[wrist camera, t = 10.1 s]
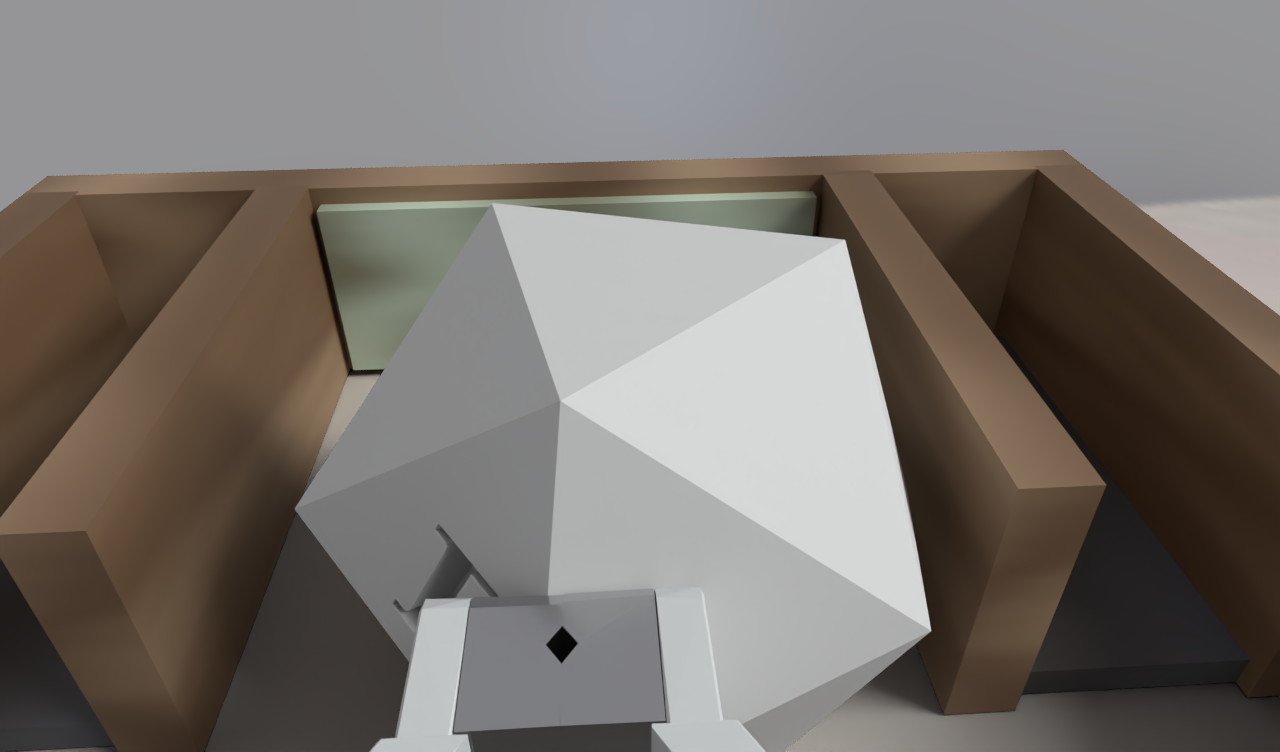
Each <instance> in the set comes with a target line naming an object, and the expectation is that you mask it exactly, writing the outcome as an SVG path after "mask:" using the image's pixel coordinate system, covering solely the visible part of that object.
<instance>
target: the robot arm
mask: <svg viewBox="0 0 1280 752" xmlns="http://www.w3.org/2000/svg"><path fill="white" fill-rule="evenodd" d="M369 752H766V751H765V750H764V749H763V748H762V747H761V746H760V744H759V743H758V742H757V741H756V740H755V739H754V738H753V737H752V735H751V734H750V733H749V732H748V731H747V730H746V729H745V728H744V727H743V725H742V724H741V723H740V722H739V721H738V720H723V716H722V709H721V703H720V696H719V690H718V683H717V677H716V670H715V664H714V657H713V651H712V644H711V638H710V631H709V625H708V618H707V612H706V606H705V599H704V594H703V592H702V591H701V589H700V587H686V588H665V589H655V590H654V591H653V588H651V589H635V590H618V591H601V592H584V593H568V594H564V595H550V596H503V597H473V598H442V599H425V601H424V603H423V605H422V607H421V609H420V611H419V615H418V620H417V625H416V631H415V636H414V641H413V646H412V651H411V656H410V661H409V667H408V672H407V677H406V682H405V687H404V692H403V697H402V703H401V708H400V713H399V718H398V723H397V728H396V733H395V738H384V739H379V741H378V742H377V743H376V744H375V745H374V746H373V747H372V748H371V750H370V751H369Z"/></svg>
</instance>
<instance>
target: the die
mask: <svg viewBox="0 0 1280 752" xmlns="http://www.w3.org/2000/svg"><path fill="white" fill-rule="evenodd" d="M295 510H296V512H297V513H298V514H299V516H300V517H301V518H302V520H303V521H304V522H305V524H306V525H307V526H308V528H309V529H310V530H311V532H312V533H313V534H314V536H315V537H316V538H317V540H318V541H319V542H320V544H321V545H322V546H323V548H324V549H325V550H326V552H327V553H328V554H329V556H330V557H331V558H332V560H333V561H334V562H335V564H336V565H337V566H338V568H339V569H340V570H341V572H342V573H343V574H344V576H345V577H346V578H347V580H348V581H349V582H350V584H351V585H352V586H353V588H354V589H355V590H356V592H357V593H358V594H359V596H360V597H361V598H362V600H363V601H364V602H365V604H366V605H367V606H368V608H369V609H370V610H371V612H372V613H373V614H374V616H375V617H376V618H377V620H378V621H379V622H380V624H381V625H382V627H383V628H384V629H385V631H386V632H387V633H388V635H389V636H390V637H391V639H392V640H393V641H394V643H395V644H396V645H397V647H398V648H399V649H400V651H401V652H402V653H403V655H404V656H405V657H406V659H407V660H408V661H410V656H411V651H412V646H413V641H414V636H415V631H416V625H417V620H418V615H419V611H420V609H421V607H422V605H423V603H424V601H425V599H442V598H473V597H503V596H550V595H564V594H568V593H584V592H601V591H618V590H635V589H651V588H653V591H654V590H655V589H665V588H686V587H700V589H701V591H702V592H703V594H704V599H705V606H706V612H707V618H708V625H709V631H710V638H711V644H712V651H713V657H714V664H715V670H716V677H717V683H718V690H719V696H720V703H721V709H722V716H723V720H738V721H739V722H740V723H741V724H742V725H743V727H744V728H745V729H746V730H747V731H748V732H749V733H750V734H751V735H752V737H753V738H754V739H755V740H756V741H757V742H758V743H759V744H760V746H761V747H762V748H763V749H764V750H765V751H766V752H784V751H785V750H786V749H787V748H789V747H790V746H791V745H792V744H793V743H795V742H796V741H797V740H798V739H800V738H801V737H802V736H803V735H805V734H806V733H807V732H808V731H809V730H811V729H812V728H813V727H814V726H816V725H817V724H818V723H819V722H820V721H822V720H823V719H824V718H825V717H827V716H828V715H829V714H830V713H831V712H833V711H834V710H835V709H836V708H838V707H839V706H840V705H841V704H843V703H844V702H845V701H846V700H847V699H849V698H850V697H851V696H852V695H854V694H855V693H856V692H857V691H858V690H860V689H861V688H862V687H863V686H865V685H866V684H867V683H868V682H869V681H871V680H872V679H873V678H874V677H876V676H877V675H878V674H879V673H881V672H882V671H883V670H884V669H885V668H887V667H888V666H889V665H890V664H892V663H893V662H894V661H895V660H896V659H898V658H899V657H900V656H901V655H903V654H904V653H905V652H906V651H907V650H909V649H910V648H911V647H912V646H914V645H915V644H916V643H917V642H918V641H920V640H921V639H922V638H923V637H925V636H926V635H927V634H928V633H930V632H931V626H930V621H929V615H928V609H927V603H926V598H925V592H924V586H923V581H922V575H921V569H920V563H919V558H918V552H917V546H916V540H915V535H914V529H913V523H912V517H911V512H910V506H909V500H908V494H907V489H906V483H905V478H904V474H903V470H902V466H901V462H900V458H899V454H898V450H897V446H896V442H895V438H894V434H893V430H892V426H891V422H890V418H889V414H888V410H887V406H886V402H885V398H884V394H883V390H882V386H881V382H880V378H879V374H878V370H877V366H876V362H875V358H874V354H873V350H872V346H871V342H870V338H869V334H868V330H867V326H866V322H865V318H864V313H863V309H862V305H861V301H860V297H859V293H858V289H857V285H856V281H855V277H854V273H853V269H852V265H851V261H850V257H849V253H848V249H847V245H846V241H845V240H842V239H833V238H823V237H813V236H804V235H794V234H785V233H775V232H766V231H756V230H746V229H737V228H727V227H718V226H708V225H698V224H689V223H679V222H670V221H660V220H651V219H641V218H631V217H622V216H612V215H603V214H593V213H584V212H574V211H564V210H555V209H545V208H536V207H526V206H516V205H507V204H497V203H492V204H491V205H490V207H489V208H488V210H487V211H486V213H485V214H484V216H483V217H482V219H481V221H480V222H479V224H478V225H477V227H476V228H475V230H474V231H473V233H472V235H471V236H470V238H469V239H468V241H467V242H466V244H465V245H464V247H463V248H462V250H461V252H460V253H459V255H458V256H457V258H456V259H455V261H454V262H453V264H452V266H451V267H450V269H449V270H448V272H447V273H446V275H445V276H444V278H443V279H442V281H441V283H440V284H439V286H438V287H437V289H436V290H435V292H434V293H433V295H432V297H431V298H430V300H429V301H428V303H427V304H426V306H425V307H424V309H423V310H422V312H421V314H420V315H419V317H418V318H417V320H416V321H415V323H414V324H413V326H412V328H411V329H410V331H409V332H408V334H407V335H406V337H405V338H404V340H403V341H402V343H401V345H400V346H399V348H398V349H397V351H396V352H395V354H394V355H393V357H392V359H391V360H390V362H389V363H388V365H387V366H386V368H385V369H384V371H383V372H382V374H381V376H380V377H379V379H378V380H377V382H376V383H375V385H374V386H373V388H372V390H371V391H370V393H369V394H368V396H367V397H366V399H365V400H364V402H363V403H362V405H361V407H360V408H359V410H358V411H357V413H356V414H355V416H354V417H353V419H352V421H351V422H350V424H349V425H348V427H347V428H346V430H345V431H344V433H343V434H342V436H341V438H340V439H339V441H338V442H337V444H336V445H335V447H334V448H333V450H332V452H331V453H330V455H329V456H328V458H327V459H326V461H325V462H324V464H323V465H322V467H321V469H320V470H319V472H318V473H317V475H316V476H315V478H314V479H313V481H312V483H311V484H310V486H309V487H308V489H307V490H306V492H305V493H304V495H303V496H302V498H301V500H300V501H299V503H298V504H297V506H296V507H295Z"/></svg>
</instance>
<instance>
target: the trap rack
mask: <svg viewBox="0 0 1280 752" xmlns="http://www.w3.org/2000/svg"><path fill="white" fill-rule="evenodd" d="M492 203H497V204H507V205H516V206H526V207H536V208H545V209H555V210H564V211H574V212H584V213H593V214H603V215H612V216H622V217H631V218H641V219H651V220H660V221H670V222H679V223H689V224H698V225H708V226H718V227H727V228H737V229H746V230H756V231H766V232H775V233H785V234H794V235H804V236H813V237H823V238H833V239H842V240H845V241H846V245H847V249H848V253H849V257H850V261H851V265H852V269H853V273H854V277H855V281H856V285H857V289H858V293H859V297H860V301H861V305H862V309H863V313H864V318H865V322H866V326H867V330H868V334H869V338H870V342H871V346H872V350H873V354H874V358H875V362H876V366H877V370H878V374H879V378H880V382H881V386H882V390H883V394H884V398H885V402H886V406H887V410H888V414H889V418H890V422H891V426H892V430H893V434H894V438H895V442H896V446H897V450H898V454H899V458H900V462H901V466H902V470H903V474H904V478H905V483H906V489H907V494H908V500H909V506H910V512H911V517H912V523H913V529H914V535H915V540H916V546H917V552H918V558H919V563H920V569H921V575H922V581H923V586H924V592H925V598H926V603H927V609H928V615H929V621H930V626H931V632H930V633H928V634H927V635H926V636H925V637H923V638H922V639H921V640H920V641H918V642H917V643H916V645H917V647H918V650H919V652H920V655H921V658H922V660H923V663H924V665H925V668H926V670H927V673H928V675H929V678H930V680H931V683H932V686H933V688H934V691H935V693H936V696H937V698H938V701H939V703H940V706H941V709H942V711H943V714H944V715H949V714H966V713H984V712H1001V711H1015V709H1016V707H1017V704H1018V702H1019V699H1020V697H1021V694H1033V693H1051V692H1069V691H1086V690H1104V689H1122V688H1139V687H1157V686H1175V685H1192V684H1210V683H1228V682H1236V683H1237V684H1238V685H1239V687H1240V688H1241V689H1242V691H1243V692H1244V694H1245V695H1246V696H1247V697H1262V696H1280V316H1279V315H1278V314H1277V313H1275V312H1274V311H1273V310H1271V309H1270V308H1269V307H1268V306H1266V305H1265V304H1264V303H1262V302H1261V301H1260V300H1258V299H1257V298H1256V297H1254V296H1253V295H1252V294H1251V293H1249V292H1248V291H1247V290H1245V289H1244V288H1243V287H1241V286H1240V285H1239V284H1238V283H1236V282H1235V281H1234V280H1232V279H1231V278H1230V277H1228V276H1227V275H1226V274H1224V273H1223V272H1222V271H1221V270H1219V269H1218V268H1217V267H1215V266H1214V265H1213V264H1211V263H1210V262H1209V261H1208V260H1206V259H1205V258H1204V257H1202V256H1201V255H1200V254H1198V253H1197V252H1196V251H1194V250H1193V249H1192V248H1191V247H1189V246H1188V245H1187V244H1185V243H1184V242H1183V241H1181V240H1180V239H1179V238H1177V237H1176V236H1175V235H1174V234H1172V233H1171V232H1170V231H1168V230H1167V229H1166V228H1164V227H1163V226H1162V225H1161V224H1159V223H1158V222H1157V221H1155V220H1154V219H1153V218H1151V217H1150V216H1149V215H1147V214H1146V213H1145V212H1144V211H1142V210H1141V209H1140V208H1138V207H1137V206H1136V205H1134V204H1133V203H1132V202H1131V201H1129V200H1128V199H1127V198H1125V197H1124V196H1123V195H1121V194H1120V193H1119V192H1117V191H1116V190H1115V189H1113V188H1112V187H1111V186H1110V185H1108V184H1107V183H1106V182H1104V181H1103V180H1101V179H1100V178H1099V177H1098V176H1097V175H1095V174H1094V173H1093V172H1091V171H1090V170H1089V169H1087V168H1086V167H1085V166H1084V165H1082V164H1080V162H1078V161H1077V160H1076V159H1074V158H1073V157H1072V156H1070V155H1069V154H1068V153H1067V152H1065V151H1064V150H1047V151H1046V150H1044V151H1007V152H1006V151H1005V152H966V153H927V154H892V155H891V154H889V155H852V156H811V157H773V158H733V159H698V160H697V159H696V160H657V161H620V162H619V161H618V162H580V163H579V162H578V163H541V164H540V163H539V164H501V165H464V166H463V165H462V166H423V167H388V168H387V167H385V168H346V169H308V170H268V171H232V172H231V171H230V172H190V173H156V174H155V173H154V174H153V173H152V174H113V175H77V176H76V175H74V176H47V177H46V178H45V179H43V180H42V181H41V182H39V183H38V184H37V185H35V186H34V187H33V188H31V189H30V190H29V191H27V192H26V193H25V194H23V195H22V196H21V197H19V198H18V199H17V200H15V201H14V202H13V203H12V204H10V205H9V206H8V207H6V208H5V209H3V210H2V211H1V212H0V752H8V751H25V750H43V749H61V748H78V747H96V746H115V747H116V749H117V751H118V752H204V751H205V748H206V746H207V743H208V740H209V738H210V735H211V733H212V730H213V727H214V725H215V722H216V719H217V717H218V714H219V712H220V709H221V706H222V704H223V701H224V698H225V696H226V693H227V691H228V688H229V685H230V683H231V680H232V677H233V675H234V672H235V670H236V667H237V664H238V662H239V659H240V656H241V654H242V651H243V649H244V646H245V643H246V641H247V638H248V635H249V633H250V630H251V628H252V625H253V622H254V620H255V617H256V615H257V612H258V609H259V607H260V604H261V601H262V599H263V596H264V594H265V591H266V588H267V586H268V583H269V580H270V578H271V575H272V573H273V570H274V567H275V565H276V562H277V559H278V557H279V554H280V552H281V549H282V546H283V544H284V541H285V538H286V536H287V533H288V531H289V528H290V525H291V523H292V520H293V517H294V515H295V512H296V510H295V507H296V506H297V504H298V503H299V501H300V499H301V496H302V494H303V491H304V489H305V486H306V483H307V481H308V478H309V476H310V473H311V470H312V468H313V465H314V462H315V460H316V457H317V455H318V452H319V449H320V447H321V444H322V441H323V439H324V436H325V434H326V431H327V428H328V426H329V423H330V420H331V418H332V415H333V413H334V410H335V407H336V405H337V402H338V399H339V397H340V394H341V392H342V389H343V386H344V384H345V381H346V378H347V376H348V373H349V371H350V368H353V370H372V369H385V368H386V366H387V365H388V363H389V362H390V360H391V359H392V357H393V355H394V354H395V352H396V351H397V349H398V348H399V346H400V345H401V343H402V341H403V340H404V338H405V337H406V335H407V334H408V332H409V331H410V329H411V328H412V326H413V324H414V323H415V321H416V320H417V318H418V317H419V315H420V314H421V312H422V310H423V309H424V307H425V306H426V304H427V303H428V301H429V300H430V298H431V297H432V295H433V293H434V292H435V290H436V289H437V287H438V286H439V284H440V283H441V281H442V279H443V278H444V276H445V275H446V273H447V272H448V270H449V269H450V267H451V266H452V264H453V262H454V261H455V259H456V258H457V256H458V255H459V253H460V252H461V250H462V248H463V247H464V245H465V244H466V242H467V241H468V239H469V238H470V236H471V235H472V233H473V231H474V230H475V228H476V227H477V225H478V224H479V222H480V221H481V219H482V217H483V216H484V214H485V213H486V211H487V210H488V208H489V207H490V205H491V204H492Z"/></svg>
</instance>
